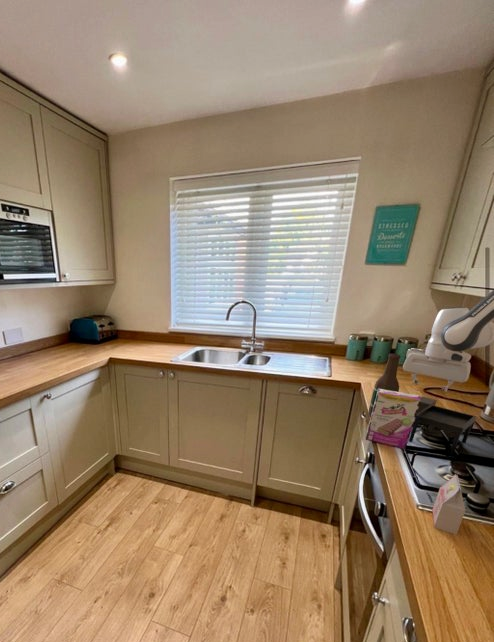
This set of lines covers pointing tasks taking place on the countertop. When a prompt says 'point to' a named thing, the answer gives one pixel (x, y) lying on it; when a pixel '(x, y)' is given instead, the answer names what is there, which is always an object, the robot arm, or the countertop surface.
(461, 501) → the small gable carton
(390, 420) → the candy bar box
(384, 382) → the beer bottle
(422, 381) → the countertop surface
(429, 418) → the black tray stand
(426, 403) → the black box
